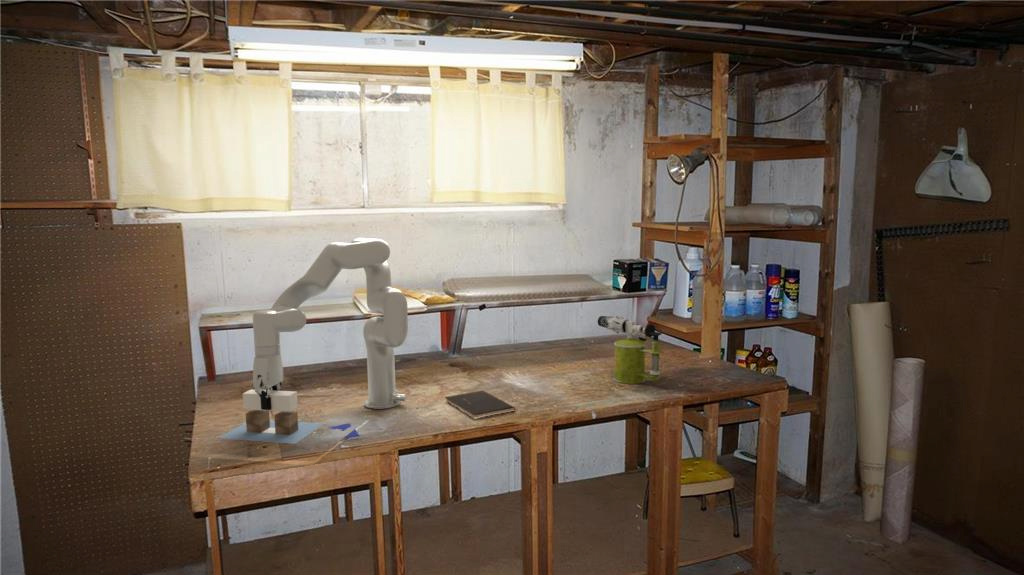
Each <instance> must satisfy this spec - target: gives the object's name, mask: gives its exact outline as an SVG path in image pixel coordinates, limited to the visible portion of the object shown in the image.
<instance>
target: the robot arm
mask: <svg viewBox="0 0 1024 575" xmlns="http://www.w3.org/2000/svg"><path fill="white" fill-rule="evenodd" d="M390 255H391V248H390V246H389V244H388V242H386V241H385V240H383V239H380V238H372V237H370V238H369V237H358V238H357V237H356V238H355V239H353V240H351V242H331V243H328V244H327V245H326V246H325V247H324V248H323V249H322V251H321V252H320V253H319V255H318V256H317V258H316V259H315V260H314V262H313V263H312V264H311V265H310V267H309V268H308V269H307V271H306V272H305V273H304V275H303V276H302V277H300V278H299V279H297V280H296V281H295V282H294V283H293V284H291V285H290V286H289V287H287V288H286V289H285V290H284V291H283V292H282V293H281V294H280V295H279V297H278V298H277V299H276V300H275V302H274V303H273V305H272V306H271V308H270V309H263V310H256V311H255V312H254V313H253V314H252V328H253V342H254V343H253V345H254V358H253V364H252V381H253V382H252V383H253V385H252V386H253V388H254V390H255V392H256V393H258V395H259V397H260V398H261V409H262V410H269V411H272V410H271V397H269V393H270V390H273V391H282V385H283V384H282V383H283V382H284V379H285V378H284V367H283V365H284V364H283V359H282V355H281V353H282V352H281V337H280V336H281V335H280V333H295V332H298V331H301V330H303V328H305V326H306V323H307V316H306V314H305V313H304V312H303V311H302V310H301V309H299V307H300V306H302V304H303V303H305V302H306V301H307V300H309V299H311V298H314V297H315V296H318V295H321V294H323V293H326V291H328V289H329V287H330V286H331V285H332V283H333V282H334V281H335V279H336V278H337V277H338V275H339V274H340V272H341V271H342V270H357V269H363V270H364V273H365V279H366V280H365V281H366V305H367V308H368V309H369V311H371V312H372V313H375V314H378V315H382V316H372V317H370V318H368V320H366V322H365V323H364V326H363V333H362V334H363V339H364V343H365V348H366V366H367V385H368V386H367V388H368V389H367V390H368V398H367V399H366V400H364V406H365V407H366V408H368V409H372V408H373V410H374V409H375V410H383V409H385V410H386V409H390V408H395V407H397V406H399V405H400V404H401V402H406V401H407V395H406V394H400V393H399V390H398V389H396V371H395V369H396V367H395V361H396V360H395V353H394V348H398V347H401V346H402V345H404V343H406V340H407V336H408V330H409V329H408V325H409V324H408V322H409V321H408V318H409V317H408V314H409V312H408V300H407V298H406V295H405V294H404V293H403V292H402V291H401V290H400V289H397V288H394V287H393V286H392V276H391V274H392V273H391V268H390V264H389V263H388V260H389V258H390ZM392 287H393V288H392ZM263 390H266V392H265V391H263Z"/></svg>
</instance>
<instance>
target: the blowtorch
mask: <svg viewBox="0 0 1024 575" xmlns="http://www.w3.org/2000/svg"><path fill="white" fill-rule="evenodd" d="M597 324H598V326H599V327H602V328H604V329H608V330H610V331H613V332H614V333H616V334H620V333H624V334H625V333H626V334H627V337H626V338H625V339H620V340H617V341H614V344H613V345H614V376H613V378H612V379H613V381H614V380H615V381H614V382H616V381H618V382H617V383H619V382H621V383H620V384H624V383H629V385H637V384H638V385H639V384H644V383H645V382H646V379H650V380H651V381H654V382H656V381H658V380H660V378H661V371H660V354H664V350H660V349H659V348H660V343H661V341H659V336H661V335H662V334H663V333H662V332H658V331H656V327H655V325H654V324H651V323H650V324H647V325H646V327H645V326H644V325H642V324H638V325H637V324H636V322H635V321H632V320H630V319H627V318H625V317H623V316H621V315H616V316H606V315H600V316H598V318H597ZM635 332H637V333H639V334H640V335H641V337H640V336H639V337H638V339H636V338H635V339H634V336H633V334H635ZM646 337H648V338H652V339H653V340H652V341H651V344H652V349H646V345H647V344H646V341H647V339H646ZM646 352H647V353H649V354H651V370H649V373H647V372H646V370H645V368H646V367H645V366H646V365H645V364H646V362H645V361H646V360H645V359H646Z"/></svg>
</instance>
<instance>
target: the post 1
mask: <svg viewBox="0 0 1024 575" xmlns="http://www.w3.org/2000/svg"><path fill="white" fill-rule="evenodd" d="M270 420H271V419H270V410H254V409H250V410H249V411H248V412H246V413H245V423H246V427H247V432H255V433H262V432H263V431H265V430H267V429H268V428H270Z"/></svg>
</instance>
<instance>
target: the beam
mask: <svg viewBox="0 0 1024 575" xmlns="http://www.w3.org/2000/svg"><path fill="white" fill-rule="evenodd" d="M263 391H265V392H266V390H265V389H263ZM269 397H271V410H270V411H271V412H272V411H274V412H281V411H290V412H291V411H295V410H296V409H297V408H298V407H299V405H298V403H299V402H298V391H295V390H293V391H292V390H291V391H289V390H281V391H273V390H271V389H270V393H269ZM242 404H243V409H244V410H253V409H254V410H262V409H261V398H260V397H259V395H258V393H256V392H255V389H249V390H247V391H245V392H243V393H242Z"/></svg>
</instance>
